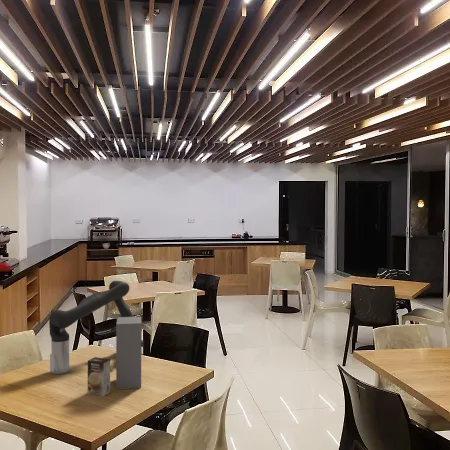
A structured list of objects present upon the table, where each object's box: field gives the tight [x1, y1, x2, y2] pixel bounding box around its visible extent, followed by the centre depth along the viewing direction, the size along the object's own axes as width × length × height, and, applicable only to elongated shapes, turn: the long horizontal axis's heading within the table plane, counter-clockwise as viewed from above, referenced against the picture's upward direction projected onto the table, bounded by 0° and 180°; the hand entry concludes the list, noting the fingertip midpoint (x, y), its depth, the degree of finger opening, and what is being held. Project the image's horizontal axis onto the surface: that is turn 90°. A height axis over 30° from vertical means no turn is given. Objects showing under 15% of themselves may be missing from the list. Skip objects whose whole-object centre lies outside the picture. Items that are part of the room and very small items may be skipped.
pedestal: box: [115, 316, 142, 390], centre depth 243 cm, size 16×12×32 cm
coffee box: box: [87, 356, 111, 397], centre depth 229 cm, size 9×6×16 cm
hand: (130, 347), depth 269 cm, fingers open, 8 cm apart
